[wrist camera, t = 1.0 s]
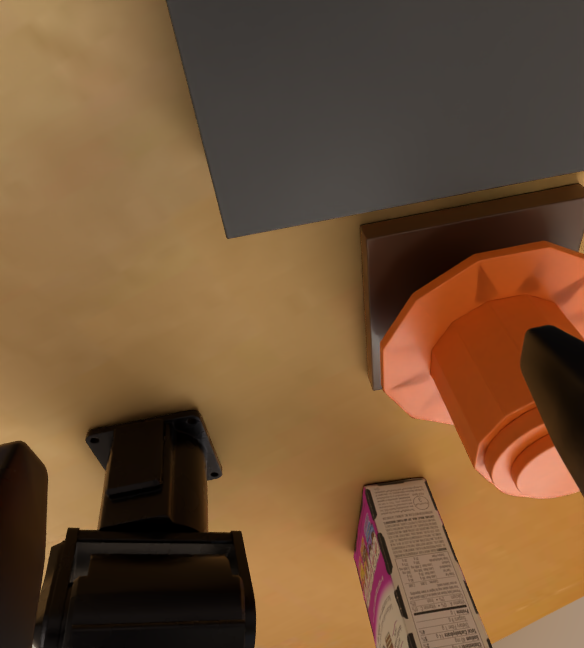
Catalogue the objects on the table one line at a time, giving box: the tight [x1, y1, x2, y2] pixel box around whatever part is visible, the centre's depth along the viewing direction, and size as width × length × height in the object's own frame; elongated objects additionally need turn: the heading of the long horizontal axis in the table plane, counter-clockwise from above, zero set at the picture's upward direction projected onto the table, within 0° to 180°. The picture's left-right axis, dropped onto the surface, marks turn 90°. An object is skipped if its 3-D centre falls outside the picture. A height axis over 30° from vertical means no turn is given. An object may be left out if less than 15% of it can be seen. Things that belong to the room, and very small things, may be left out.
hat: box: [380, 241, 584, 499], centre depth 21 cm, size 10×10×7 cm
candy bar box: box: [354, 478, 492, 648], centre depth 35 cm, size 11×5×16 cm, turn 1°
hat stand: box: [360, 184, 584, 391], centre depth 23 cm, size 10×10×9 cm
